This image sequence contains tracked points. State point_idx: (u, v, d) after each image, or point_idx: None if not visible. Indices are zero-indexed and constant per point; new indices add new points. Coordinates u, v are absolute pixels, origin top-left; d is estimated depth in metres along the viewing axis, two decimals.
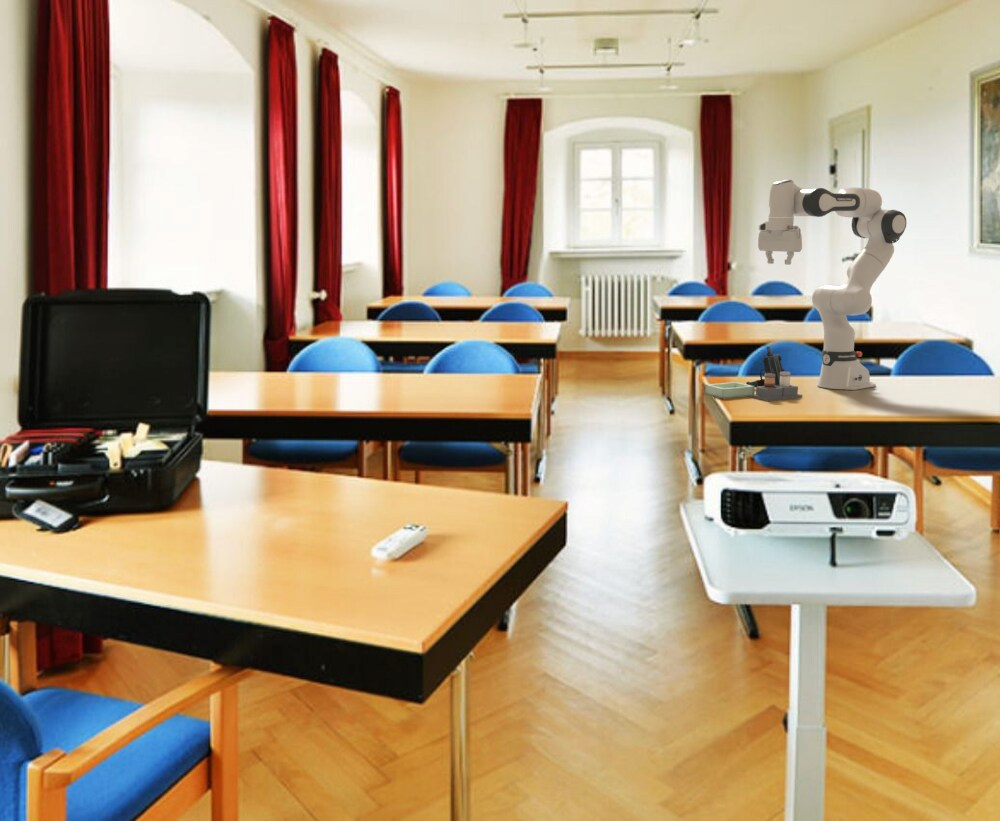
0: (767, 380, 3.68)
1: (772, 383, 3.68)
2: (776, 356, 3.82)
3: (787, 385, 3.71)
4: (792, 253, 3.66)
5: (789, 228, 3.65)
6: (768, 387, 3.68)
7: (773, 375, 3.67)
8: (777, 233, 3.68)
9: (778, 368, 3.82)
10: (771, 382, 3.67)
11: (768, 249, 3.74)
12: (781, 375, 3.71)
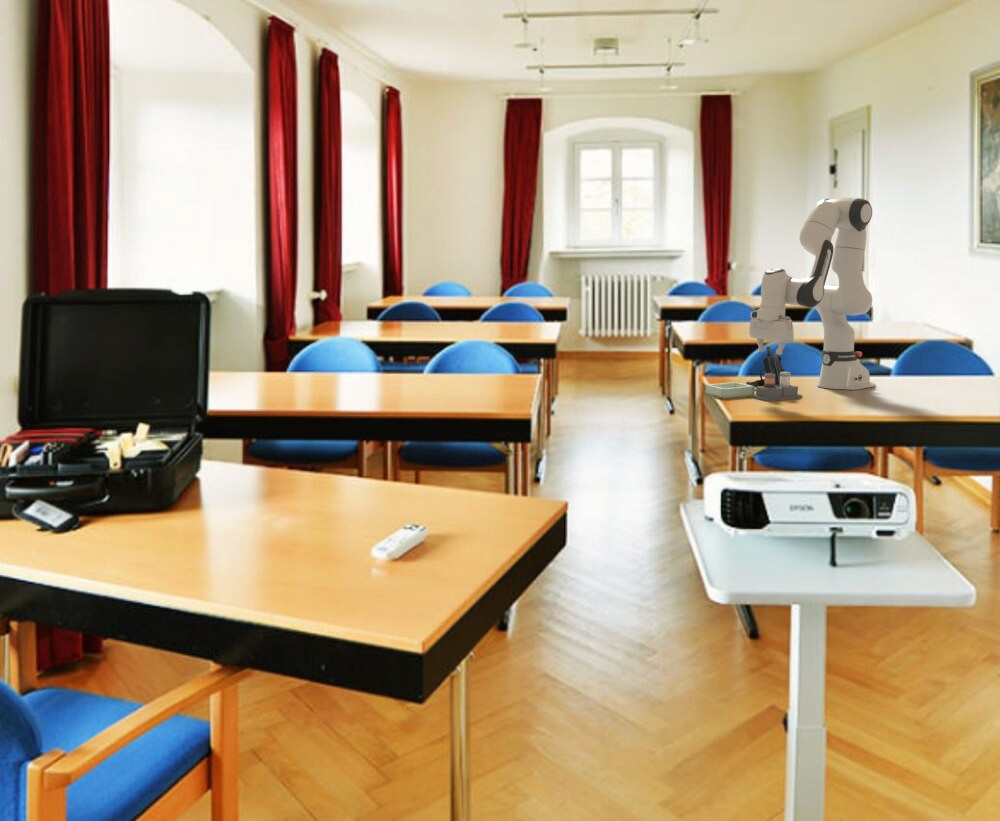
0: (767, 380, 3.68)
1: (772, 383, 3.68)
2: (776, 356, 3.82)
3: (787, 385, 3.71)
4: (783, 344, 3.61)
5: (781, 318, 3.60)
6: (768, 387, 3.68)
7: (773, 375, 3.67)
8: (768, 322, 3.63)
9: (778, 368, 3.82)
10: (771, 382, 3.67)
11: (759, 337, 3.69)
12: (781, 375, 3.71)
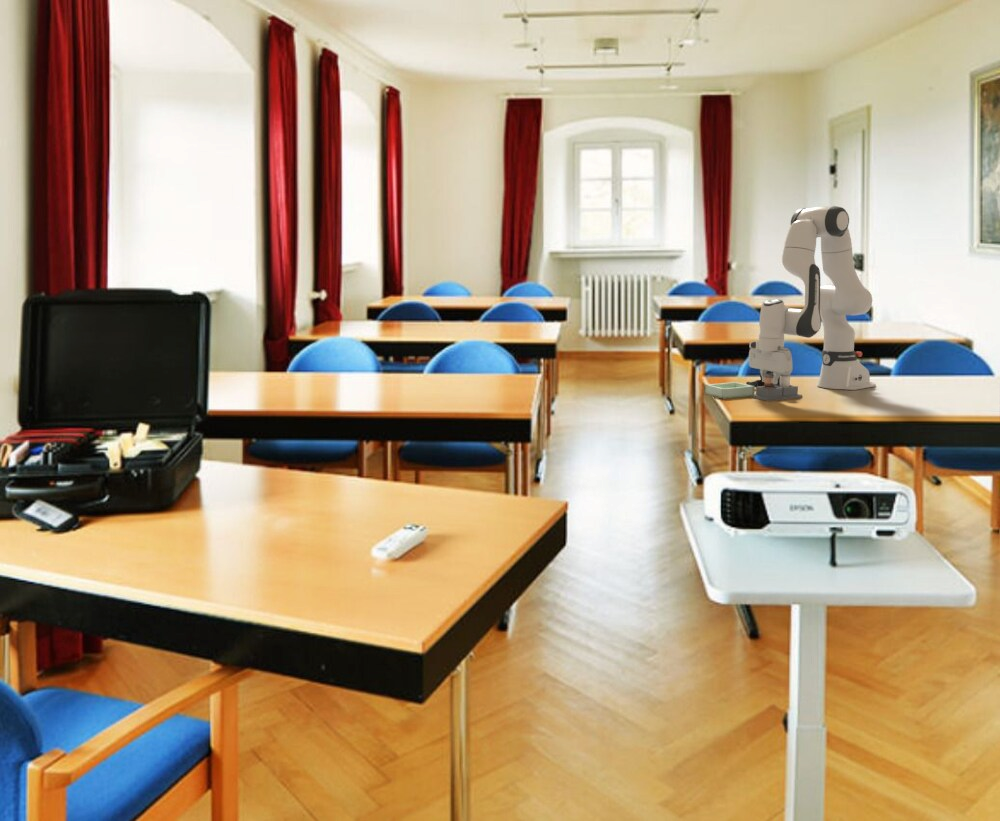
0: (767, 380, 3.68)
1: None
2: None
3: (787, 385, 3.71)
4: (778, 374, 3.65)
5: (779, 349, 3.62)
6: (768, 387, 3.68)
7: (773, 375, 3.67)
8: (767, 353, 3.65)
9: None
10: None
11: (759, 367, 3.71)
12: (781, 375, 3.71)
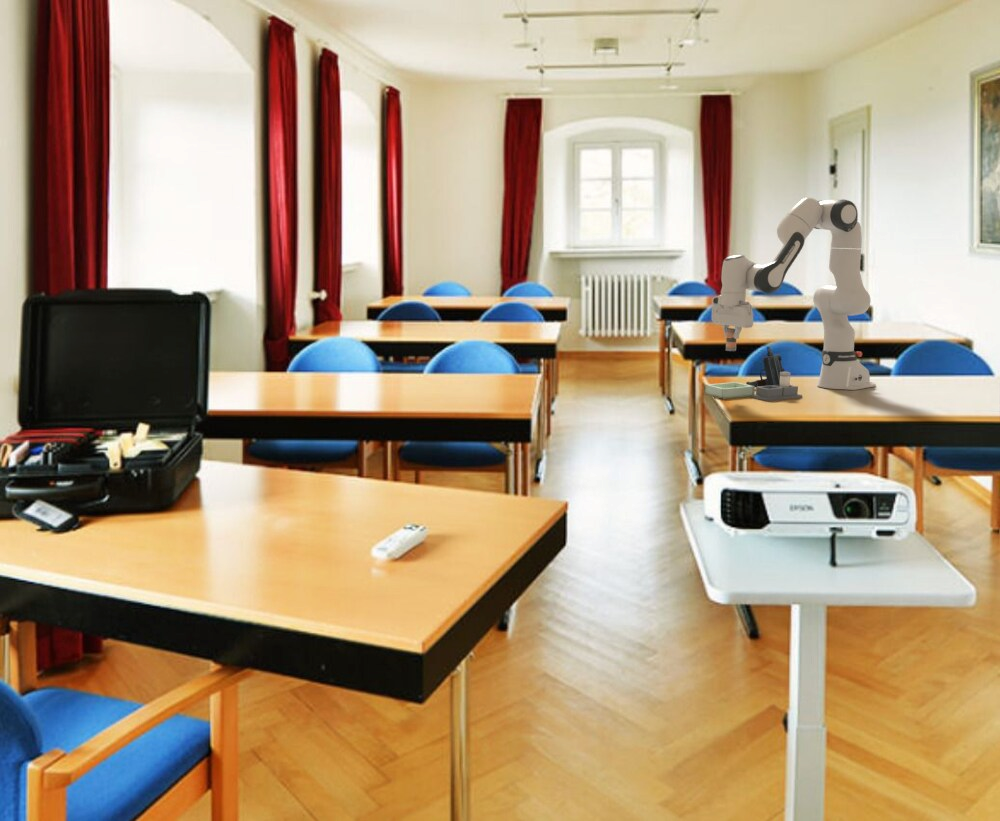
0: (729, 335, 3.72)
1: None
2: (776, 356, 3.82)
3: (787, 385, 3.71)
4: (740, 328, 3.69)
5: (741, 303, 3.66)
6: (730, 342, 3.72)
7: None
8: (729, 308, 3.69)
9: (778, 368, 3.82)
10: (732, 336, 3.72)
11: (721, 323, 3.75)
12: (781, 375, 3.71)
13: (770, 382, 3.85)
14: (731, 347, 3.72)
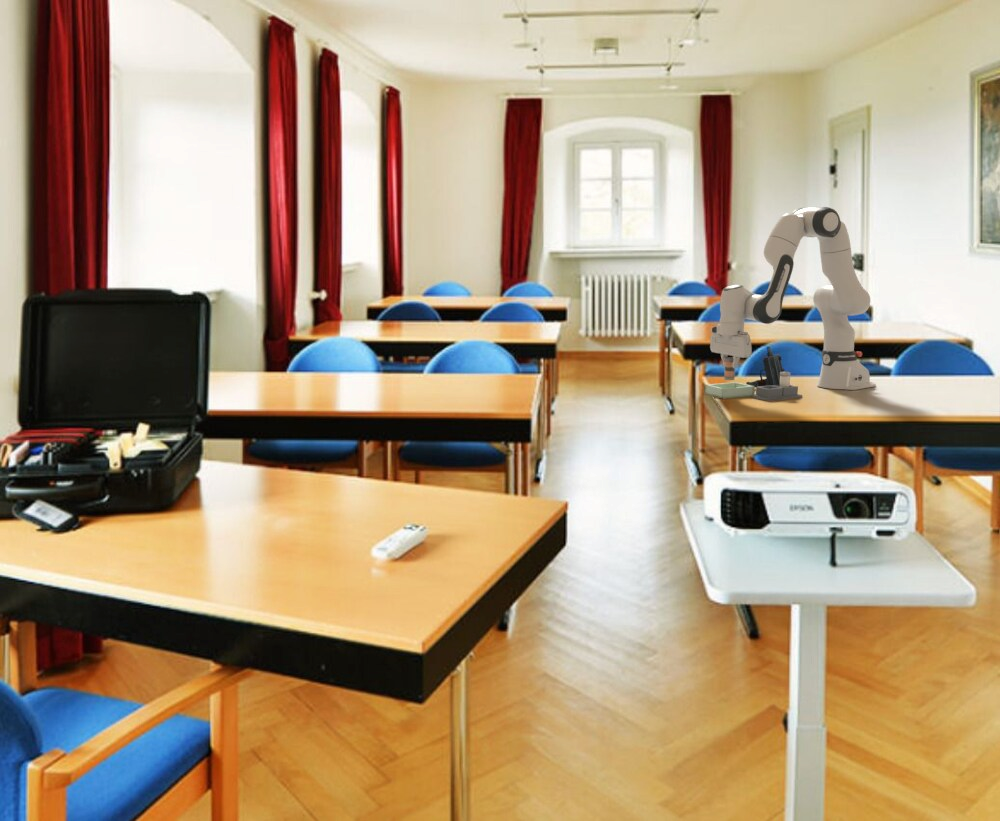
0: (727, 364, 3.74)
1: None
2: (776, 356, 3.82)
3: (787, 385, 3.71)
4: (738, 358, 3.71)
5: (739, 333, 3.68)
6: (728, 371, 3.74)
7: (733, 359, 3.73)
8: (727, 338, 3.71)
9: (778, 368, 3.82)
10: (730, 366, 3.74)
11: (719, 352, 3.77)
12: (781, 375, 3.71)
13: (770, 382, 3.85)
14: (730, 376, 3.74)
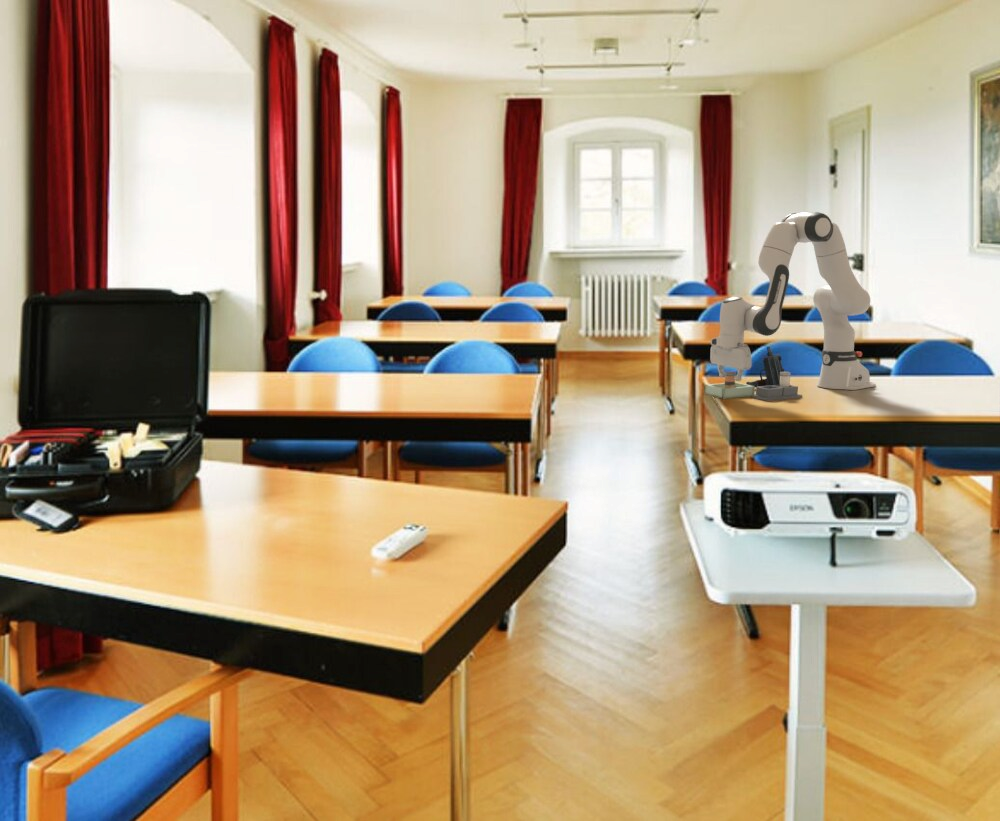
0: (728, 378, 3.75)
1: (732, 381, 3.75)
2: (776, 356, 3.82)
3: (787, 385, 3.71)
4: (742, 370, 3.70)
5: (739, 345, 3.69)
6: (728, 385, 3.75)
7: (733, 373, 3.74)
8: (727, 350, 3.72)
9: (778, 368, 3.82)
10: (731, 380, 3.75)
11: (719, 363, 3.78)
12: (781, 375, 3.71)
13: (770, 382, 3.85)
14: None
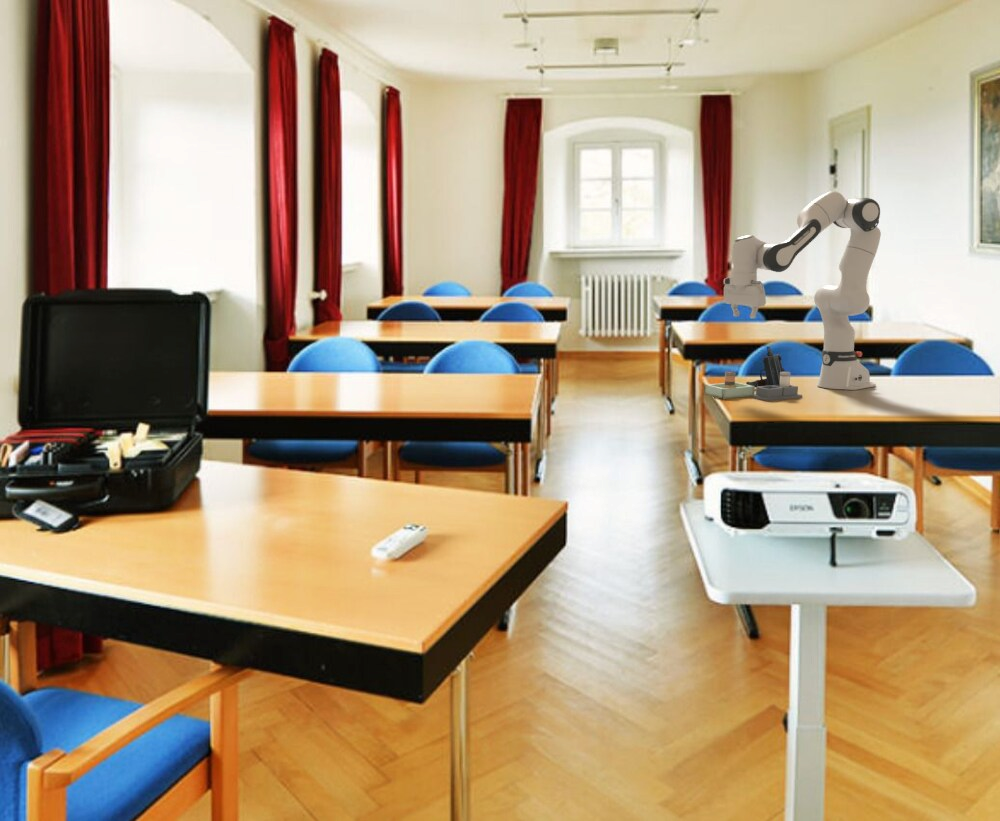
0: (728, 378, 3.75)
1: (732, 381, 3.75)
2: (776, 356, 3.82)
3: (787, 385, 3.71)
4: (756, 307, 3.74)
5: (752, 283, 3.73)
6: (728, 385, 3.75)
7: (733, 373, 3.74)
8: (741, 288, 3.75)
9: (778, 368, 3.82)
10: (731, 380, 3.75)
11: (733, 302, 3.82)
12: (781, 375, 3.71)
13: (770, 382, 3.85)
14: None
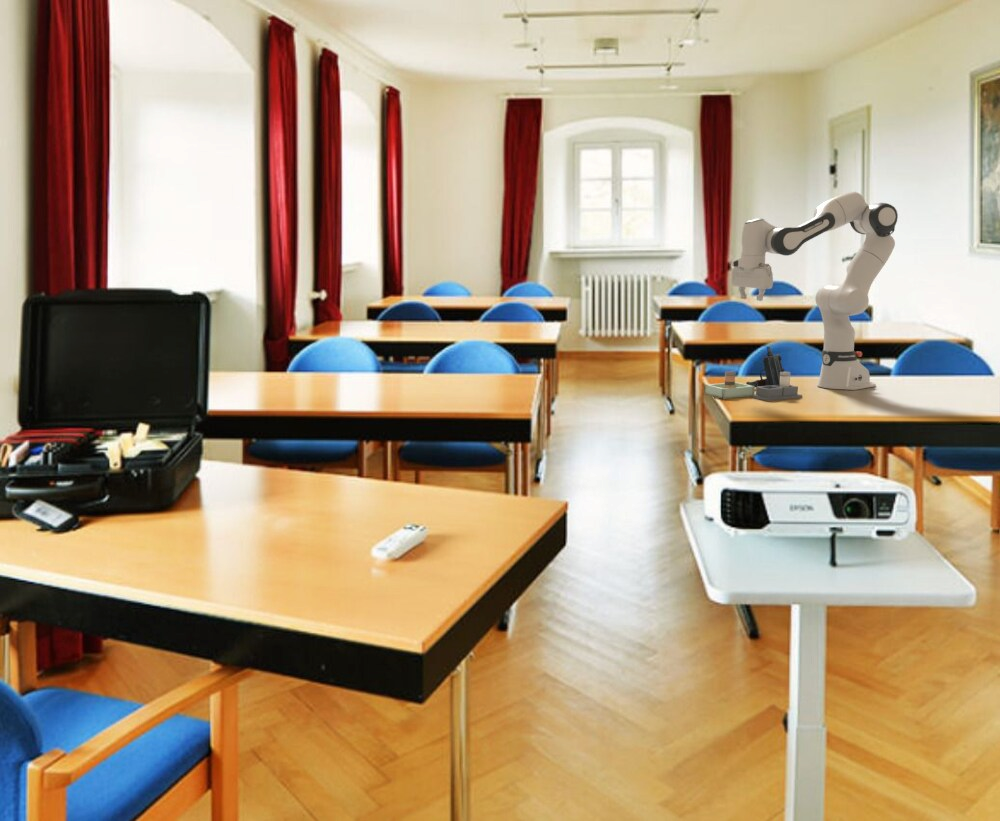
0: (728, 378, 3.75)
1: (732, 381, 3.75)
2: (776, 356, 3.82)
3: (787, 385, 3.71)
4: (763, 290, 3.78)
5: (761, 266, 3.77)
6: (728, 385, 3.75)
7: (733, 373, 3.74)
8: (749, 270, 3.80)
9: (778, 368, 3.82)
10: (731, 380, 3.75)
11: (741, 285, 3.86)
12: (781, 375, 3.71)
13: (770, 382, 3.85)
14: None
